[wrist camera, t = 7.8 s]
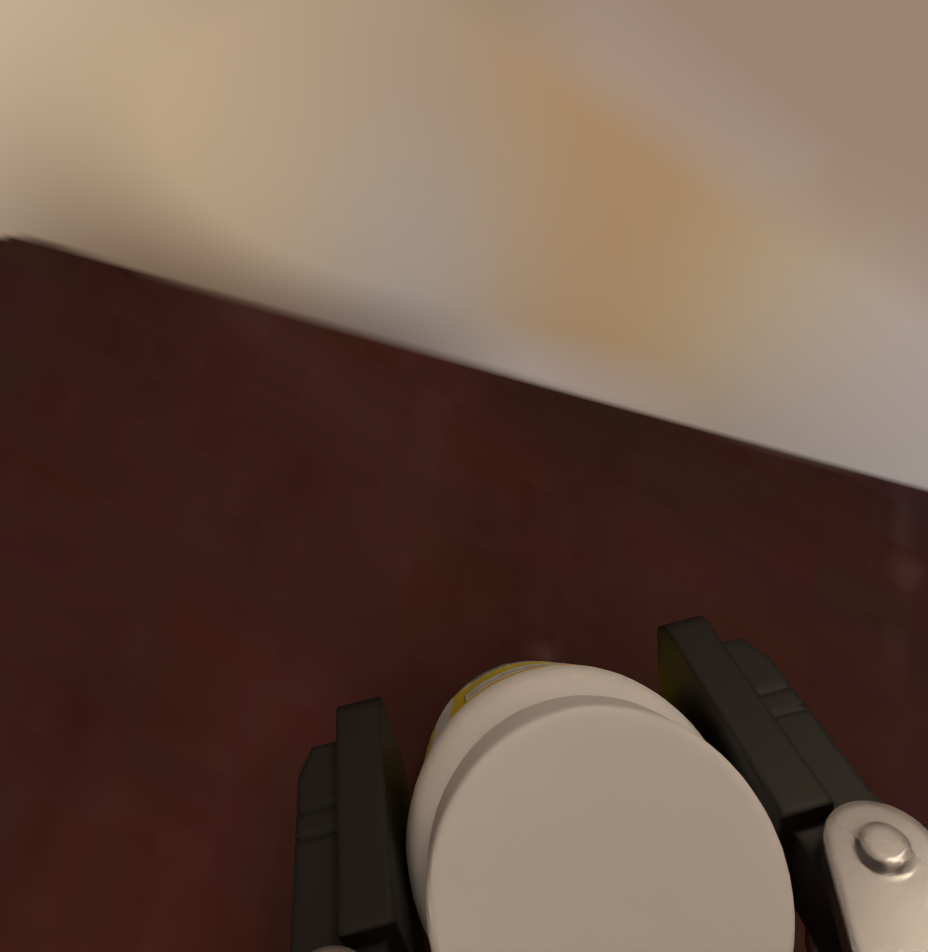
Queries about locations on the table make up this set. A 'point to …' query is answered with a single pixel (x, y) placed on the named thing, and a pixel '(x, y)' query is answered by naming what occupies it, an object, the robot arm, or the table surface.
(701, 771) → the supplement bottle
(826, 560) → the table surface
